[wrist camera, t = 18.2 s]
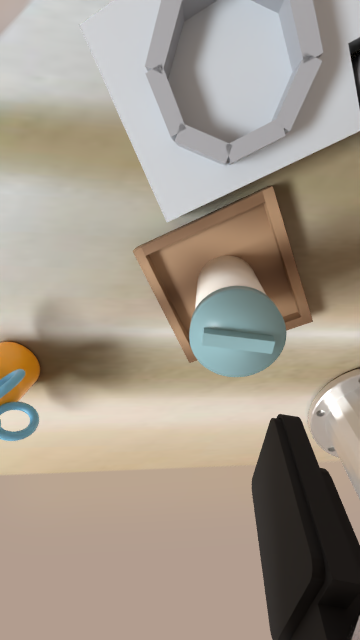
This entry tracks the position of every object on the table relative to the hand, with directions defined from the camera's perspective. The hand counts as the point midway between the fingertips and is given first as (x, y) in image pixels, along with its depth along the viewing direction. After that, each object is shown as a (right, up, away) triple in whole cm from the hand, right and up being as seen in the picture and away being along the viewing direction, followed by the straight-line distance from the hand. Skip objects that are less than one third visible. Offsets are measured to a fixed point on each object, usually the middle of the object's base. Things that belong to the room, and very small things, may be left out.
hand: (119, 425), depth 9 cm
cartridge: (+6, +7, +17) cm, 19 cm away
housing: (+7, +20, +11) cm, 24 cm away
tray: (+6, +7, +18) cm, 20 cm away
